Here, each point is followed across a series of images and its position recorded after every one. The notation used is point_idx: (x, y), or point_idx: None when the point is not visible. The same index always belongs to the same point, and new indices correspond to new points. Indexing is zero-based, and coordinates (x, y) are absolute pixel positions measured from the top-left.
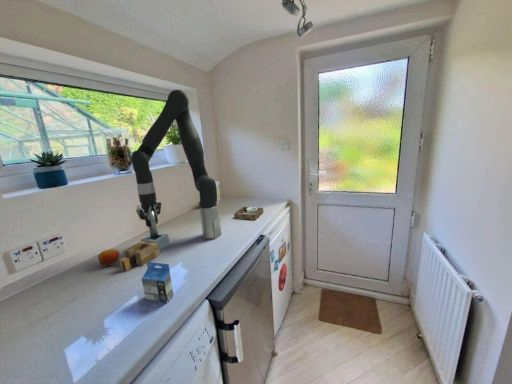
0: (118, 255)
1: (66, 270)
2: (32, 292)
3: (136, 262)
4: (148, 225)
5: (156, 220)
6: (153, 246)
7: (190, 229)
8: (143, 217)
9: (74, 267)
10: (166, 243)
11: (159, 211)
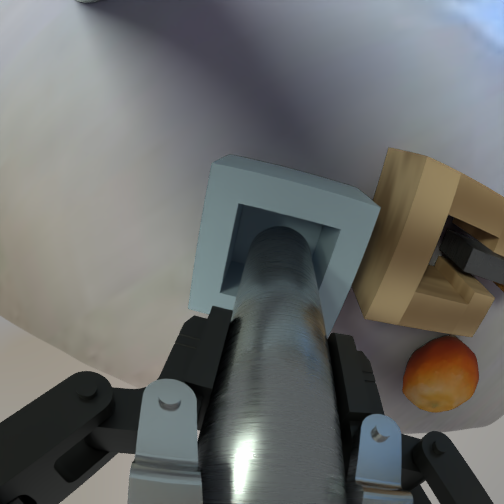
0: (439, 350)
1: (423, 430)
2: (492, 408)
3: (470, 239)
4: (366, 361)
5: (219, 339)
6: (461, 173)
7: (31, 141)
8: (471, 472)
9: (413, 427)
10: (257, 162)
11: (62, 408)
